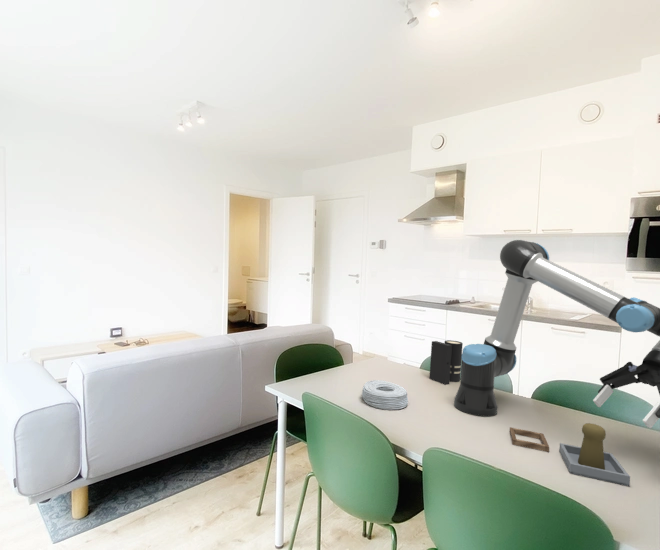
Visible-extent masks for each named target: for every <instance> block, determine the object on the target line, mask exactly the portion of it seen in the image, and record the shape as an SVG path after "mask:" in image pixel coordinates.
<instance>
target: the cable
mask: <svg viewBox="0 0 660 550" xmlns="http://www.w3.org/2000/svg"><path fill="white" fill-rule="evenodd" d="M361 396H362V399H363V401H364V403H366V404H367V405H368V406H371V407H373V408H376V409H379V410H392V411H393V410H401V409H404V408H406V407H407V406H408V404H409V399H408V391H407V389H405V388H404V387H403V386H401V385H399V384H396V383H394V382H391V381H386V380H378V379H373V380H368V381H366V382H365V383H364V384H363V387H362V391H361Z"/></svg>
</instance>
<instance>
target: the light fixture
mask: <svg viewBox="0 0 660 550" xmlns="http://www.w3.org/2000/svg"><path fill="white" fill-rule="evenodd" d="M430 351H431V352H430V361H429V362H430V364H429V365H430V366H429V378H428V379H429V380H431V381H434V382H436V383H439V384H442V385H443V386H446V385H450V382H452V383H458V382H459V383H460V381H461V364H462V353H463V342H461V341H457V340H451V339H450V340H448V339H447V340H444V342H441V341H438V340H435V341H434V340H433V341H432V340H431V349H430Z"/></svg>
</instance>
